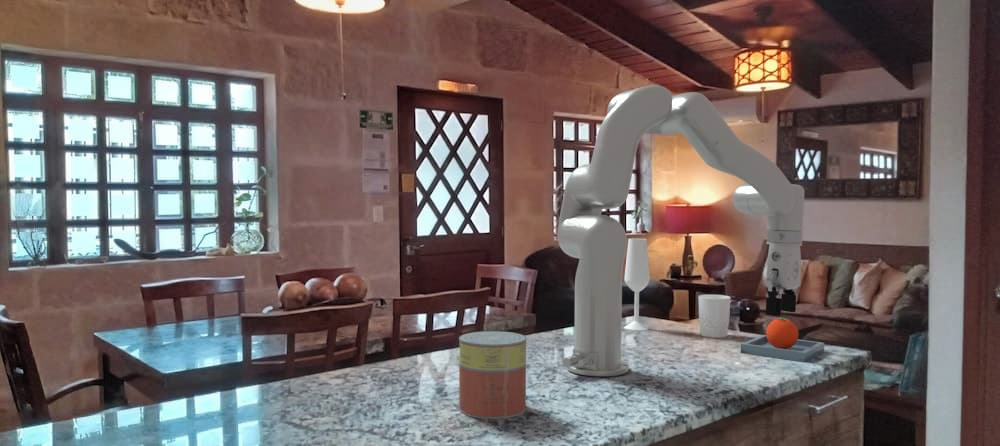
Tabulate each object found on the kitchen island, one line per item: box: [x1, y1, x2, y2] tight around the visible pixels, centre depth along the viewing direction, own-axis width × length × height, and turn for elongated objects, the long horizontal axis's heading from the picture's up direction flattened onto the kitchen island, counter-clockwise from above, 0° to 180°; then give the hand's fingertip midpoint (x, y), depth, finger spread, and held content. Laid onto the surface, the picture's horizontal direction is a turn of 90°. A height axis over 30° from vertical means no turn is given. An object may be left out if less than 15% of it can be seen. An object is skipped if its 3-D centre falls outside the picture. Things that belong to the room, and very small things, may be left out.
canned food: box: [458, 330, 528, 420], centre depth 119 cm, size 11×11×12 cm
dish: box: [740, 334, 825, 363], centre depth 163 cm, size 14×14×2 cm
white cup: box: [697, 294, 732, 339], centre depth 182 cm, size 8×8×10 cm
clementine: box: [765, 317, 799, 349], centre depth 163 cm, size 8×7×7 cm
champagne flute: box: [623, 237, 651, 331], centre depth 192 cm, size 7×7×24 cm
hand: (780, 313), depth 163 cm, fingers open, 9 cm apart
